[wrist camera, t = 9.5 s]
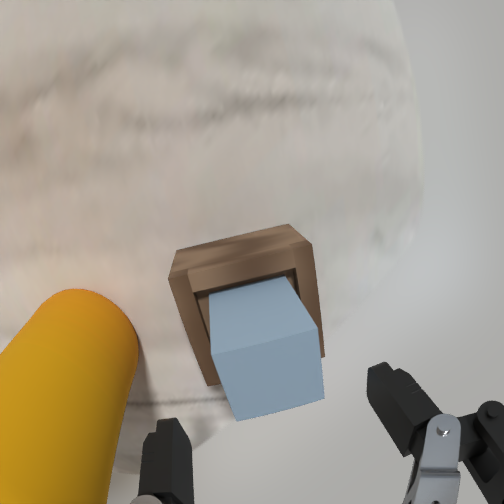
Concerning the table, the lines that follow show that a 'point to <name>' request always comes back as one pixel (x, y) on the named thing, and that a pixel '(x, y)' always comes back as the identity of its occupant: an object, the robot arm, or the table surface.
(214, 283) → the walnut base
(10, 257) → the table surface
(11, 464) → the beer bottle
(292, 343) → the lid block
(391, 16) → the table surface
